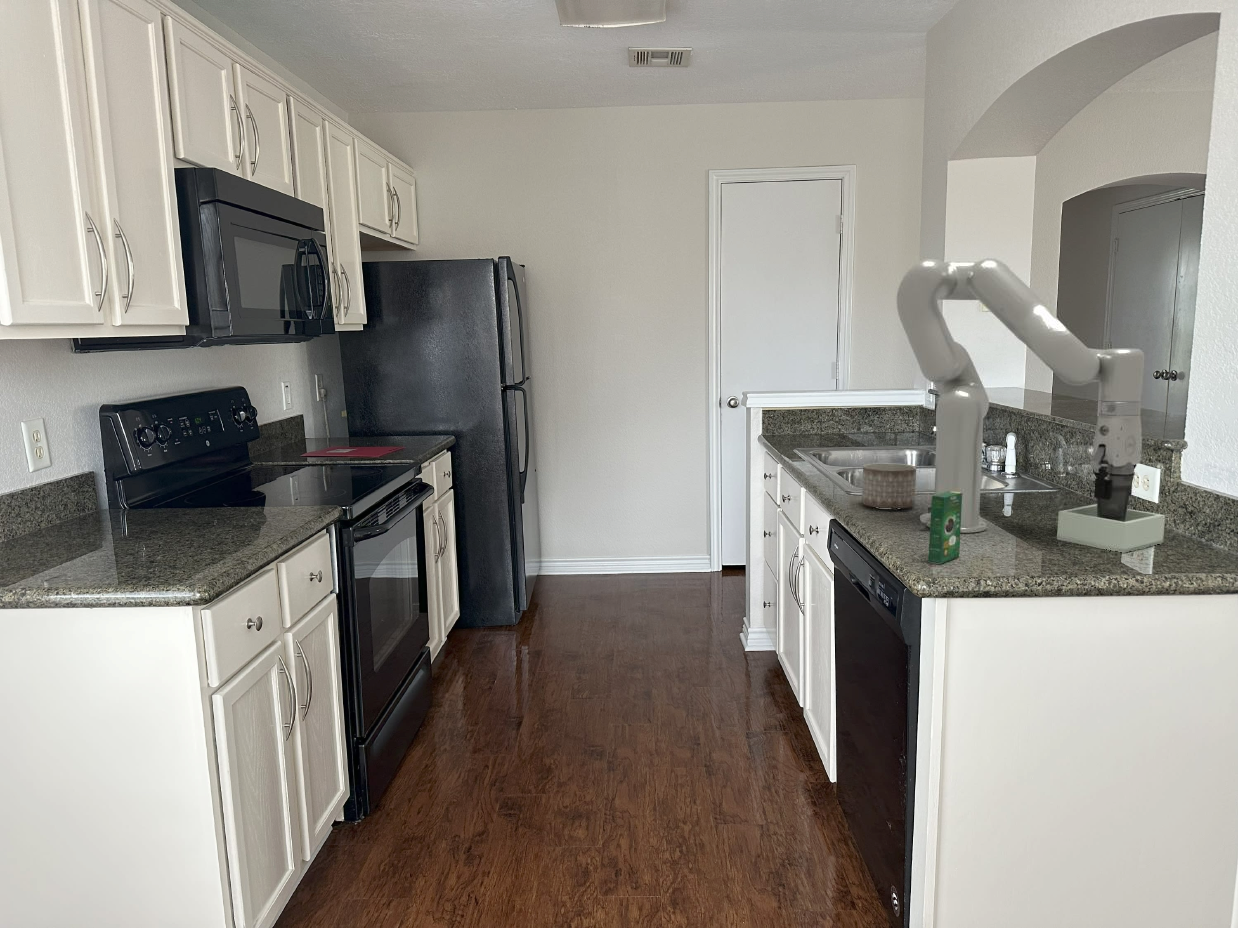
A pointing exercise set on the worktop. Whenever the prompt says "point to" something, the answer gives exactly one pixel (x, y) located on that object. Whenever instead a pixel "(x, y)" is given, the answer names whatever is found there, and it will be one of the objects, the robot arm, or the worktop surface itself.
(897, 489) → the planter
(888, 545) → the worktop surface
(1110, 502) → the beverage cup
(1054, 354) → the robot arm
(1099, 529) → the walled box
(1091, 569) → the worktop surface
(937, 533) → the green upright box
